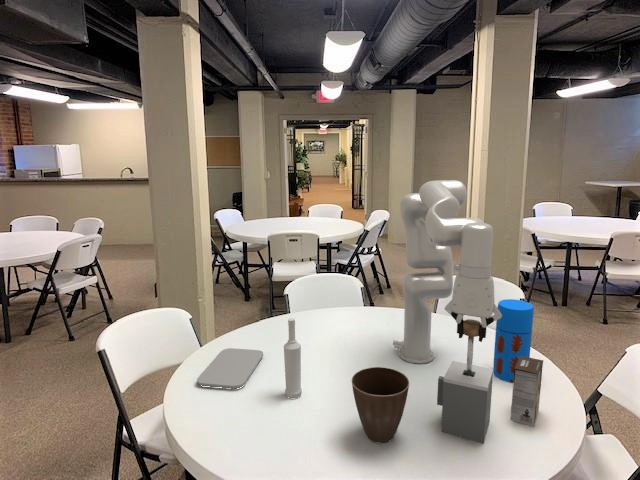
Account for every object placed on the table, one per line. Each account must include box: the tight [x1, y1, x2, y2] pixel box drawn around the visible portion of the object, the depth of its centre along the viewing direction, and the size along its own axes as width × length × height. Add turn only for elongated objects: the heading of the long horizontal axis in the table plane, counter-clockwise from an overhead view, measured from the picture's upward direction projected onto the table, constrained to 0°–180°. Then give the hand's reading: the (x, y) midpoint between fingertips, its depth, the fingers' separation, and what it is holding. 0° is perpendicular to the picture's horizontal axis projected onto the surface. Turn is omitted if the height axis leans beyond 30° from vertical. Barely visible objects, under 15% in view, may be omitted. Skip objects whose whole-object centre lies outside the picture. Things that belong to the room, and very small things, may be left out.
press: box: [436, 360, 494, 445], centre depth 124 cm, size 13×11×16 cm
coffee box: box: [510, 356, 544, 427], centre depth 128 cm, size 9×6×16 cm
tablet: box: [196, 347, 264, 389], centre depth 158 cm, size 16×26×2 cm, turn 170°
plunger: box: [463, 318, 481, 377], centre depth 121 cm, size 8×8×19 cm
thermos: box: [493, 298, 535, 384], centre depth 150 cm, size 11×11×25 cm
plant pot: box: [351, 366, 410, 444], centre depth 121 cm, size 15×15×16 cm
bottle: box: [283, 317, 303, 399], centre depth 140 cm, size 5×5×25 cm
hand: (471, 337), depth 120 cm, fingers closed on plunger, 4 cm apart
